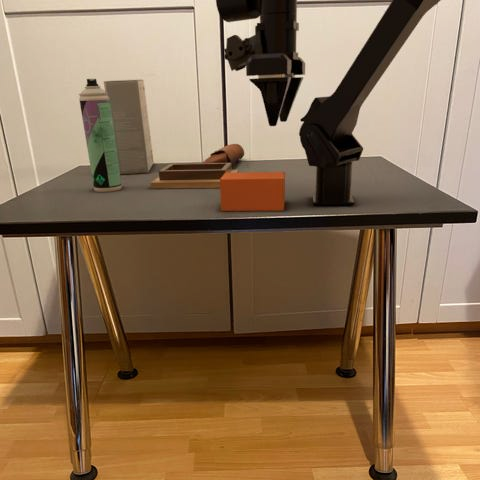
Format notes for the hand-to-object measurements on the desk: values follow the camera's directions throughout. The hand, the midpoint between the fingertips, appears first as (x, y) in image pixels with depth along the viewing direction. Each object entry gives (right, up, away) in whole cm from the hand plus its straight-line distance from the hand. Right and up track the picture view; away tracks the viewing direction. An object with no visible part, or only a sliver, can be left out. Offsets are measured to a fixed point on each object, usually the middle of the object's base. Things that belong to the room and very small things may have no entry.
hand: (278, 123), depth 82 cm
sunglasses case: (-11, +5, +39) cm, 41 cm away
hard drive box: (-32, +4, +38) cm, 50 cm away
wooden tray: (-16, -4, +20) cm, 26 cm away
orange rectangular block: (-4, -15, -2) cm, 15 cm away
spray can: (-33, -7, +16) cm, 37 cm away
